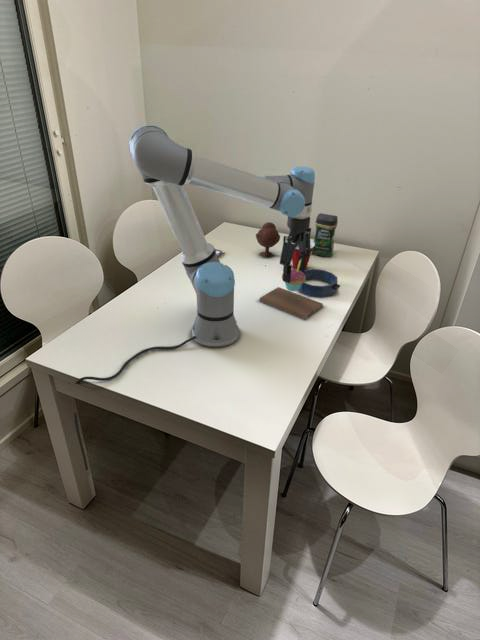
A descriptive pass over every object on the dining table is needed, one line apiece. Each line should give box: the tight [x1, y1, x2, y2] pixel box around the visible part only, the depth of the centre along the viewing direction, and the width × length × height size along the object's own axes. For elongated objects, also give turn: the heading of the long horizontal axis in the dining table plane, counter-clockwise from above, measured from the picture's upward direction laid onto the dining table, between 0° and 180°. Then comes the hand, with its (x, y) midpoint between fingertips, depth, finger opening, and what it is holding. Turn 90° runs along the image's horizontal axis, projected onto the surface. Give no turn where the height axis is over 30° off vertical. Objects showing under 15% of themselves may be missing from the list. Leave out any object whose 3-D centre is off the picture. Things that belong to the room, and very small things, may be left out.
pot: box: [298, 268, 341, 298], centre depth 180 cm, size 16×19×4 cm
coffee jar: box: [311, 212, 338, 258], centre depth 206 cm, size 10×8×19 cm
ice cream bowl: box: [255, 221, 281, 259], centre depth 204 cm, size 11×11×15 cm
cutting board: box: [259, 286, 324, 320], centre depth 169 cm, size 12×20×2 cm, turn 51°
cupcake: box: [281, 258, 306, 292], centre depth 163 cm, size 9×8×12 cm
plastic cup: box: [291, 239, 315, 270], centre depth 194 cm, size 11×11×12 cm
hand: (293, 277), depth 163 cm, fingers closed on cupcake, 8 cm apart
